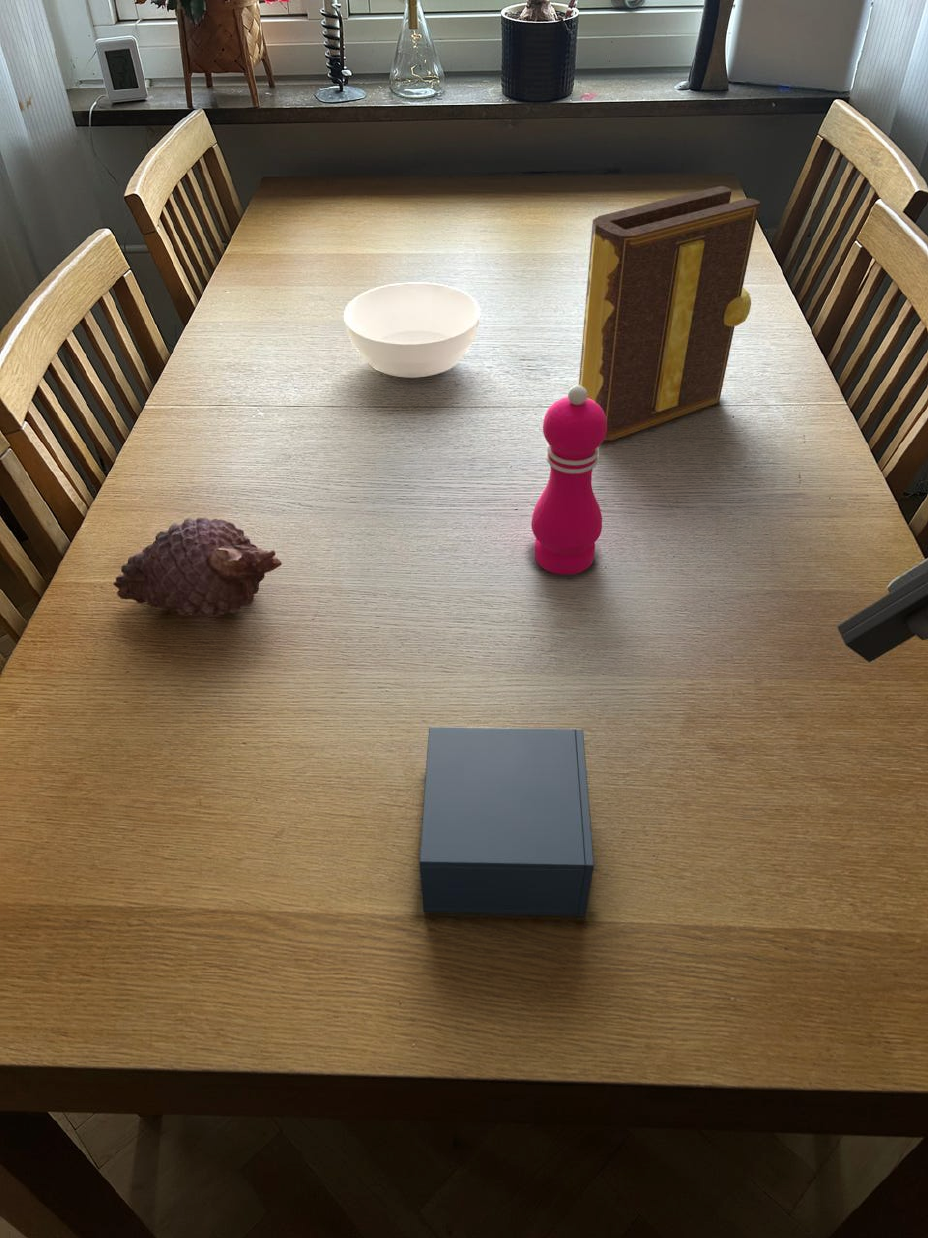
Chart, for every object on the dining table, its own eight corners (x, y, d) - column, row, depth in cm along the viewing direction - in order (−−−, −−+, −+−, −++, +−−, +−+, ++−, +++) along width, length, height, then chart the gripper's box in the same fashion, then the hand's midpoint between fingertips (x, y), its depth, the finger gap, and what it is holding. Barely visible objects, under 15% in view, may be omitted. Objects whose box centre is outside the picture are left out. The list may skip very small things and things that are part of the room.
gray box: (583, 729, 72) (429, 726, 72) (594, 865, 63) (419, 862, 64) (576, 782, 77) (432, 780, 77) (586, 916, 68) (423, 913, 69)
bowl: (327, 384, 124) (321, 333, 119) (376, 323, 137) (372, 275, 132) (458, 404, 120) (457, 352, 115) (496, 339, 133) (496, 290, 128)
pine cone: (107, 646, 89) (75, 545, 87) (158, 620, 98) (130, 529, 96) (276, 614, 85) (247, 507, 83) (312, 591, 94) (287, 494, 92)
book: (604, 449, 112) (628, 242, 95) (564, 417, 118) (579, 215, 100) (742, 400, 120) (786, 200, 103) (698, 372, 126) (734, 177, 108)
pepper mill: (583, 529, 101) (600, 362, 87) (608, 571, 96) (631, 400, 82) (520, 541, 100) (527, 373, 86) (542, 584, 95) (554, 412, 81)
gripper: (1421, 504, 41) (928, 755, 53) (1232, 345, 50) (847, 592, 62) (1381, 415, 37) (859, 709, 49) (1184, 260, 46) (783, 542, 58)
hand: (853, 644), depth 55 cm, fingers closed
